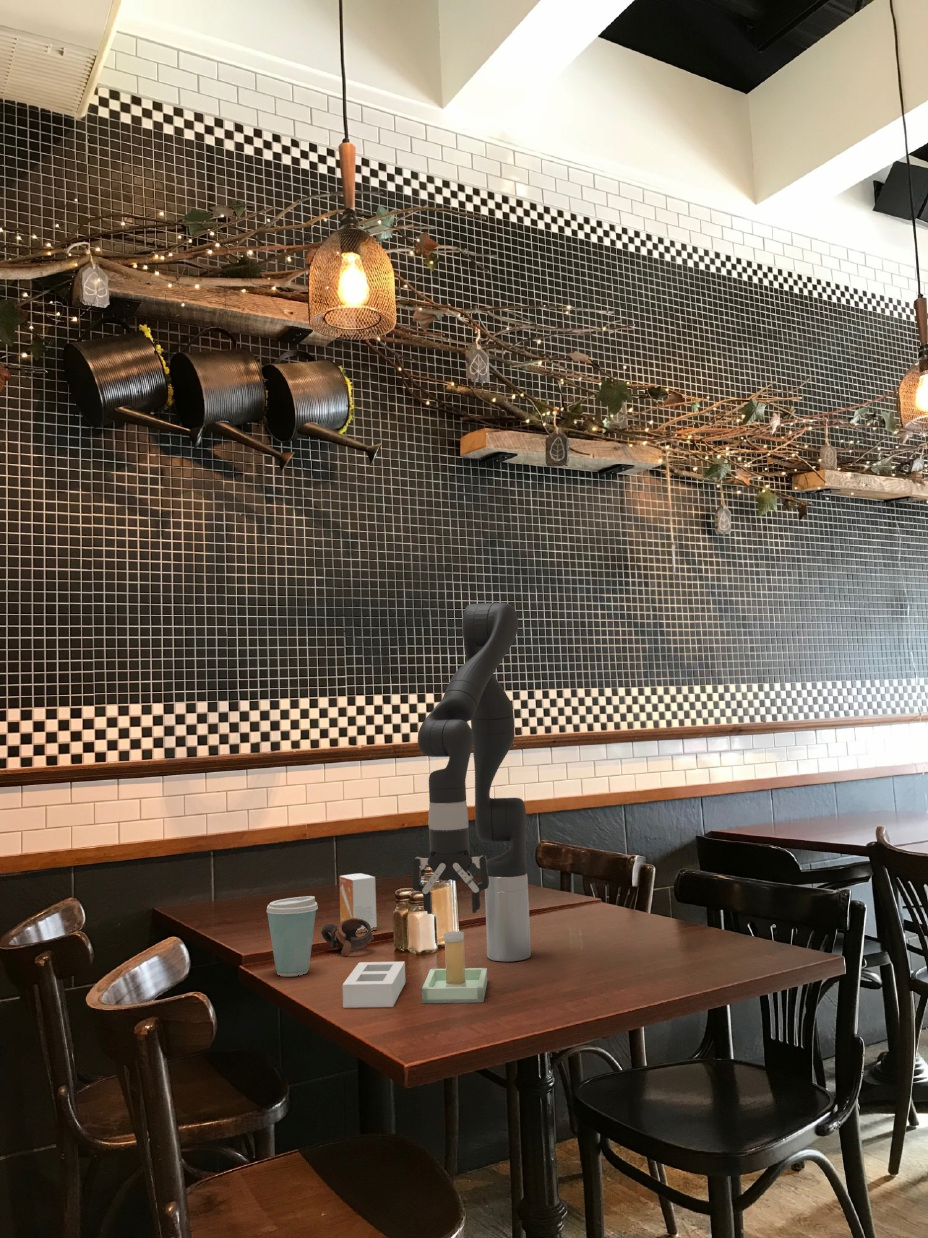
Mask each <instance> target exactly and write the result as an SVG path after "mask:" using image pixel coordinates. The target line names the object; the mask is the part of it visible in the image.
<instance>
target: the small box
mask: <svg viewBox="0 0 928 1238" xmlns="http://www.w3.org/2000/svg"><path fill="white" fill-rule="evenodd" d="M338 878H339V879H338V880H339V883H338V884H339V922H342V921H343V920H345V919H348V918H359V919H363V920H365V921H366V922H368V923H369V925H370V927H371V928H373V927H378V925H377V899H376V898H377V893H376V892H377V891H376V876H372V875H369V874H365V873H361V872H360V873H351V874H350V873H349V874H343V875H339V876H338ZM364 928H365V927H364V926H362V927H361V928H359V929H357V930H360V929H364Z"/></svg>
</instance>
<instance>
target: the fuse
mask: <svg viewBox="0 0 928 1238" xmlns="http://www.w3.org/2000/svg"><path fill="white" fill-rule="evenodd" d="M443 941H444V958H445V969H446V987H466V981H465V968H466V962H465V932H463V931H457V930H456V931H455V930H454V931H446V932H444V933H443Z"/></svg>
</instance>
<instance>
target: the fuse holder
mask: <svg viewBox="0 0 928 1238" xmlns="http://www.w3.org/2000/svg"><path fill="white" fill-rule="evenodd" d="M405 985H406V962H405V961H371V962H370V961H369V962H368V961H366V962H364V961H363V962H362V961H360V962H358V963H357V964H356V966H355V967H354V969H353V970H352V971H351V972H350V974H349V975H348V976H347V978H346V979H345V981H344V982H343V983H342V1007H343V1009H344V1008H345V1009H346V1008H347V1009H348V1008H349V1009H350V1008H352V1009H354V1008H356V1009H357V1008H393V1007H394V1006H395V1004H396V1003H397V1000H398V998H399V995H401V992H402V990H403V988H404V986H405Z"/></svg>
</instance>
